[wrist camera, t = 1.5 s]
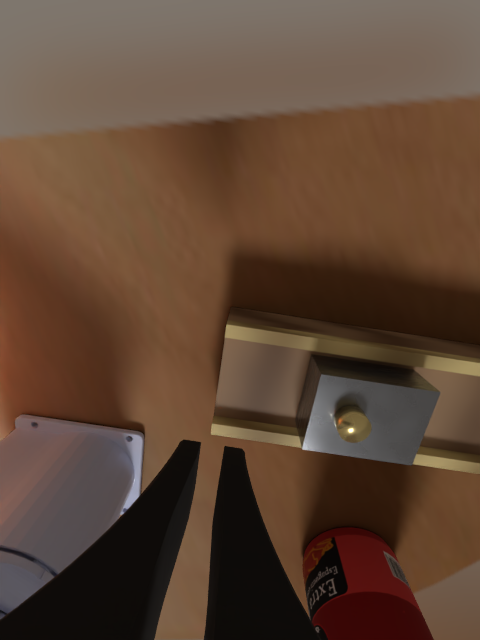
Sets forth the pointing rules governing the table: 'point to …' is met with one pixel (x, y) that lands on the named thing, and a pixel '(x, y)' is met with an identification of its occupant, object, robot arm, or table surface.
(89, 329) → the table surface
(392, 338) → the wooden channel tray
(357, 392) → the grey block with knob
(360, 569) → the canned food
